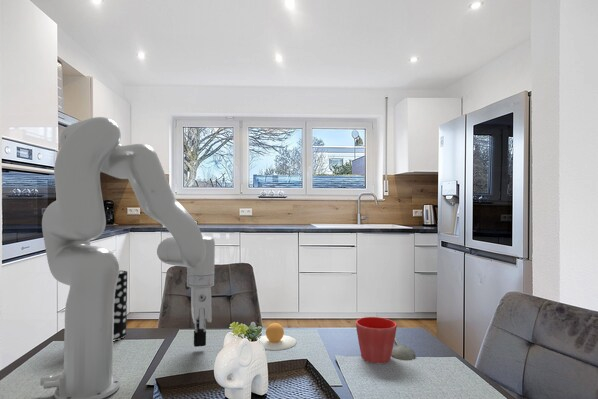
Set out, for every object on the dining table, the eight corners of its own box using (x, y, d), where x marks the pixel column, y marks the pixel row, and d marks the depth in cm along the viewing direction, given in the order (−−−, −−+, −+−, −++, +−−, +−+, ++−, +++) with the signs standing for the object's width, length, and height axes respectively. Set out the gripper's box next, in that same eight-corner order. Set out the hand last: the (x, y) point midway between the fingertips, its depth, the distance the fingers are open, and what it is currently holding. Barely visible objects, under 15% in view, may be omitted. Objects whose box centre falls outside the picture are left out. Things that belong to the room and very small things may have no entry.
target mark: (258, 352, 107) (258, 351, 107) (249, 337, 119) (249, 336, 119) (302, 347, 111) (302, 346, 111) (288, 333, 123) (288, 332, 123)
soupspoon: (392, 364, 102) (417, 366, 102) (393, 352, 102) (418, 354, 102) (381, 334, 124) (401, 336, 124) (381, 324, 124) (402, 325, 124)
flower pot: (397, 368, 97) (397, 329, 97) (354, 364, 99) (354, 326, 100) (395, 352, 108) (395, 318, 108) (356, 349, 110) (356, 315, 110)
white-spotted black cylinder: (131, 333, 121) (132, 270, 122) (116, 343, 113) (117, 275, 113) (106, 332, 122) (108, 270, 123) (90, 341, 114) (91, 274, 114)
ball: (281, 322, 114) (289, 337, 114) (275, 317, 119) (283, 332, 119) (265, 332, 112) (273, 348, 112) (260, 327, 117) (268, 342, 118)
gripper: (217, 284, 102) (216, 353, 102) (211, 275, 117) (210, 335, 116) (188, 286, 100) (187, 356, 100) (185, 276, 114) (184, 338, 114)
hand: (199, 345), depth 108 cm, fingers closed
